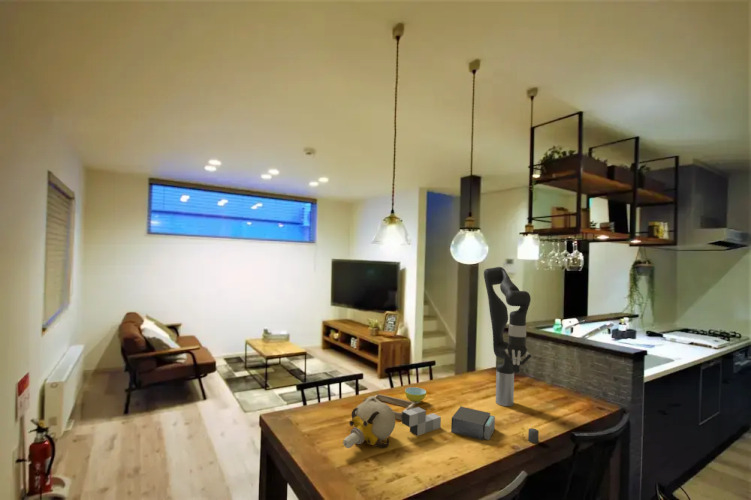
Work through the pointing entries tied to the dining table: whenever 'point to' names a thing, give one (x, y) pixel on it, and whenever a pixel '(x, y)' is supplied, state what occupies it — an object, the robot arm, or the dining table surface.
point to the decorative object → (371, 423)
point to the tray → (489, 427)
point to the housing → (469, 422)
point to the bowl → (415, 394)
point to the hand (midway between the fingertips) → (516, 372)
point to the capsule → (533, 435)
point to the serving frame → (396, 401)
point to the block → (420, 421)
